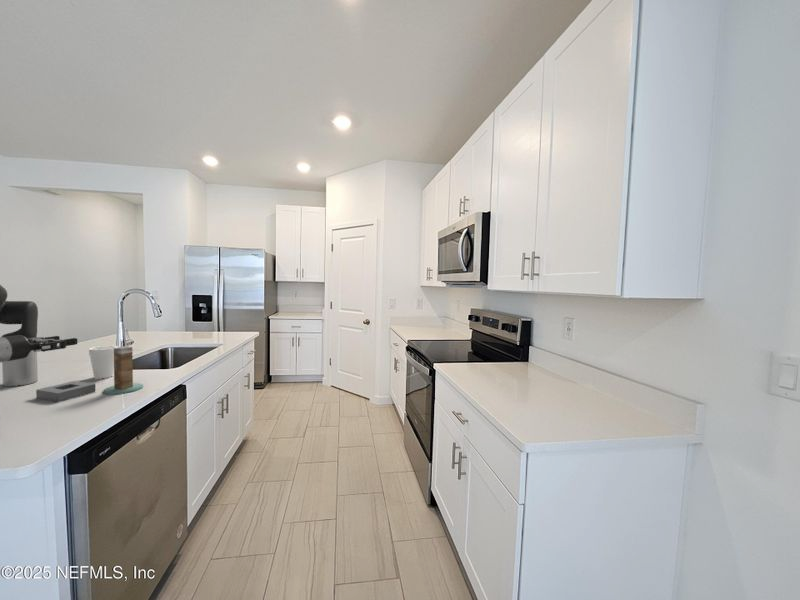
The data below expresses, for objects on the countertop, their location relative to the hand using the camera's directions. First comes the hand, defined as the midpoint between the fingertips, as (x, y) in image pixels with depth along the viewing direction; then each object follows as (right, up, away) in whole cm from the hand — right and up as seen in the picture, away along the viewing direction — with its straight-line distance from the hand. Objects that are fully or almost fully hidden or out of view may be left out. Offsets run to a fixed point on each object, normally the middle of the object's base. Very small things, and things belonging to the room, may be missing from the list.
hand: (67, 339), depth 114 cm
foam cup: (-14, -20, +29) cm, 38 cm away
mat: (+7, -21, +15) cm, 27 cm away
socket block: (-8, -21, +7) cm, 24 cm away
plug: (+7, -21, +15) cm, 26 cm away
